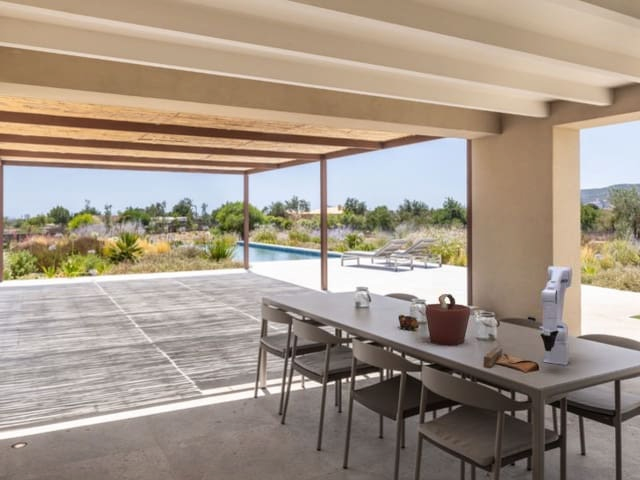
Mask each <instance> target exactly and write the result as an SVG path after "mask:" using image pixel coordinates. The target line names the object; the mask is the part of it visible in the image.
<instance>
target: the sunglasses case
mask: <svg viewBox="0 0 640 480" xmlns="http://www.w3.org/2000/svg"><path fill="white" fill-rule="evenodd" d="M495 365H496V366H501V367H504V368H508V369H512V370H516V371H519V372H522V373H525V374H529V373H533V372H536V371H539V370H540V365H539V363H538V362H536V361H533V360H527V359H524V358H520V357H516V356H513V355H509V354H507V353H502V356H501V357H500V358H499V359H498V360H497V361H496V362H495Z"/></svg>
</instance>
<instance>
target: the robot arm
mask: <svg viewBox="0 0 640 480" xmlns="http://www.w3.org/2000/svg"><path fill="white" fill-rule="evenodd" d="M572 277H573V268H572V266H555V265H554V266H552V265H550V266H548V268H547V278H548V281H547V283H546V286H545V288H544V289H543V290H542V291H541V296H540V297H541V307H542V326H539V329H540V330H541V329H542V333H540V337H541V339H542V341H543V347H544V350H545V358H544V359H543V362H544V363H548V364H555V365H556V364H557V365H562V366H567V365H568V364H569V362H570V343H567V341H568V337H569V336H568V333H569V332H568V331H569V329H568V325H567V324H566V323H565V321H563V312H564V304H565V294H566V291H567V288H570V287H571V286H572V285H571V284H572V282H573V281H572V279H573V278H572Z"/></svg>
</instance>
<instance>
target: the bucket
mask: <svg viewBox="0 0 640 480" xmlns="http://www.w3.org/2000/svg"><path fill="white" fill-rule="evenodd" d="M446 298H447V299H448V300H449V303H446V300H445V299H446ZM438 302H439V303H428V304H427V305H426V306H425V318H426V324H427V329H428V334H429V340H430V343H431V344H434V345H438V346H445V347H446V346H449V347H452V346H453V347H457V346H460V345H463V344H464V343H465V339H466V338H465V337H466V333H467V329H468V325H469V320H470V316H471V307H468V306H466V305H464V304H457V303H456V299H455V297H454V296H453V295H452V294H451V293H442V294H441V295H439V296H438Z"/></svg>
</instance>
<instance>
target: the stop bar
mask: <svg viewBox="0 0 640 480" xmlns="http://www.w3.org/2000/svg"><path fill="white" fill-rule="evenodd" d="M501 356H503V348H502V347H496V346H495V347H494V348H492V349H491V350H490V351H489V352H487V353H486V354H485V355H483V368H488V369H491V368H492V367H494V366H495V365H496V364H495V362H496V361H497V360H498V359H499V358H500V357H501Z"/></svg>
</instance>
